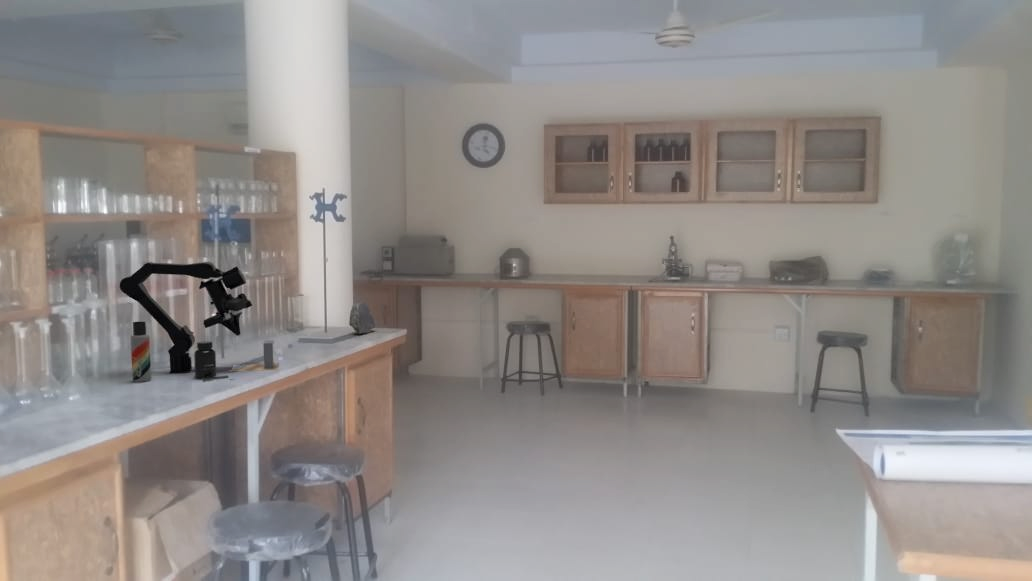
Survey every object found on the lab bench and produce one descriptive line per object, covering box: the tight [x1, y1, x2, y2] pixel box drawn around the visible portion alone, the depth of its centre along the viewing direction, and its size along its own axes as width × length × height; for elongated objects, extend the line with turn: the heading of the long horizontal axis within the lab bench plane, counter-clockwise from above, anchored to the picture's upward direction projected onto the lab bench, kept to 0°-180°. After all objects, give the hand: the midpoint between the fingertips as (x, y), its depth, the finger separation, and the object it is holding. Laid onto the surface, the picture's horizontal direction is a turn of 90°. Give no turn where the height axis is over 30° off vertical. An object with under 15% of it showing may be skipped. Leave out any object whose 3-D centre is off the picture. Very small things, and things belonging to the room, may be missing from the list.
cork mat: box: [229, 362, 280, 373], centre depth 294 cm, size 16×12×1 cm
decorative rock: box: [348, 300, 376, 334], centre depth 374 cm, size 16×7×15 cm, turn 157°
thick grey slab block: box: [262, 339, 276, 369], centre depth 295 cm, size 3×7×9 cm, turn 12°
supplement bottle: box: [193, 340, 217, 380], centre depth 279 cm, size 7×7×12 cm
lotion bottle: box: [130, 321, 152, 383], centre depth 273 cm, size 6×6×20 cm
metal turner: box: [202, 375, 235, 383], centre depth 277 cm, size 15×6×1 cm, turn 123°
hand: (238, 335), depth 292 cm, fingers closed
